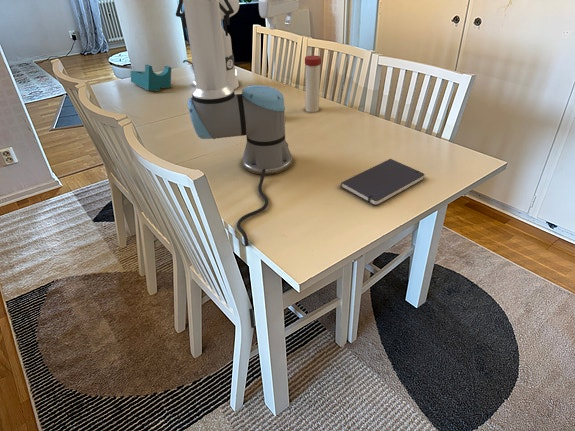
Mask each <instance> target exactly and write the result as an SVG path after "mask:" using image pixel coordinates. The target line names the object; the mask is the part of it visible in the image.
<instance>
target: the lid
mask: <svg viewBox="0 0 575 431" xmlns="http://www.w3.org/2000/svg"><path fill="white" fill-rule="evenodd" d="M304 64H305V66H306V65H308V66H317V65H320V66H321V64H322V57H321V56H319V55H314V54H313V55H306V56H304Z"/></svg>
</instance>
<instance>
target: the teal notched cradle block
mask: <svg viewBox="0 0 575 431" xmlns="http://www.w3.org/2000/svg"><path fill="white" fill-rule="evenodd" d="M130 82H131V83H132V84H134V85H137V86H139V87H140V88H142V89H144V90H146V91H154V92H155V91H156V92H157V91H158V92H160V90H161V88H164V89H166V88H167V89H170V88H171V85H172V67H171V66H168V65H164V68H163V70H162V72H161V73H156V72H154V70H153V66H152V65H150V64H144V71H141V70H130Z"/></svg>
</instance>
